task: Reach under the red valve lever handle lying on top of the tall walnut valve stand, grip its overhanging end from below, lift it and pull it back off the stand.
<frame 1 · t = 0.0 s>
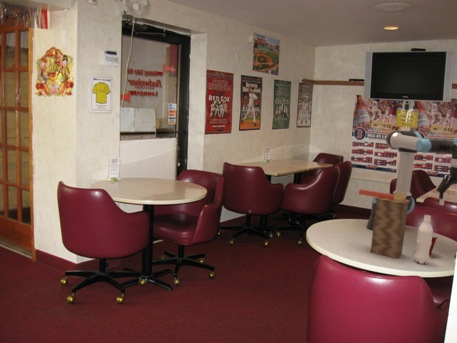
hand: (452, 205, 250), 28 cm above the table, tool pointing down, fingers open, 13 cm apart
plastic cup: (424, 255, 251), on the table
valve stand: (386, 253, 249), on the table
lever: (381, 197, 247), point 30 cm above the table, touching valve stand
water bottle: (421, 262, 237), on the table
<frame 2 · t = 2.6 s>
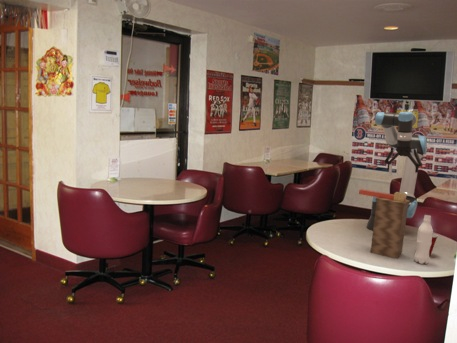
hand: (402, 176, 261), 40 cm above the table, tool pointing down, fingers open, 13 cm apart
nothing on the table moved.
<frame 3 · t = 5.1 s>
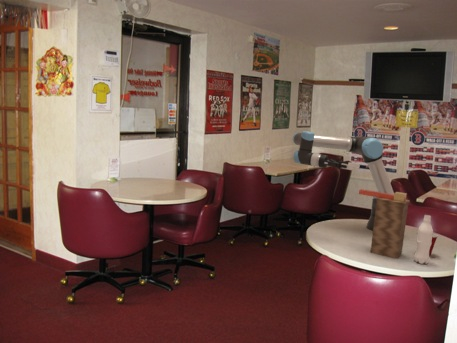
hand: (356, 167, 255), 44 cm above the table, tool horizontal, fingers open, 13 cm apart
nothing on the table moved.
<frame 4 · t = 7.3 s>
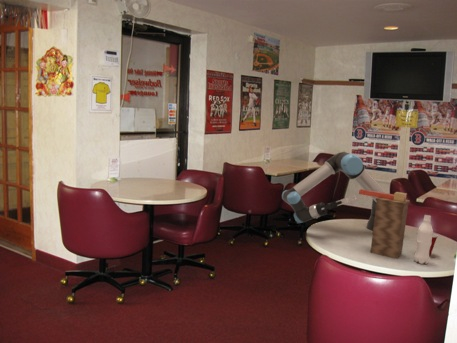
hand: (351, 198, 257), 27 cm above the table, tool pointing upward, fingers open, 13 cm apart
nothing on the table moved.
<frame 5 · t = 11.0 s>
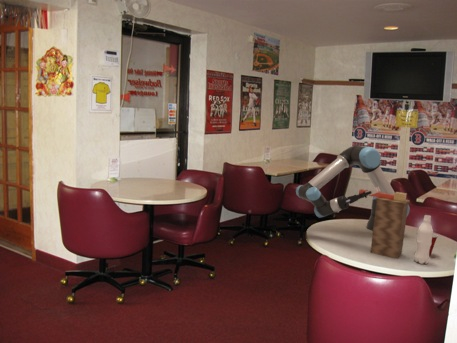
hand: (378, 189, 248), 34 cm above the table, tool pointing upward, fingers closed on lever, 3 cm apart
lever: (381, 197, 247), point 30 cm above the table, touching gripper, valve stand
everything else where it was.
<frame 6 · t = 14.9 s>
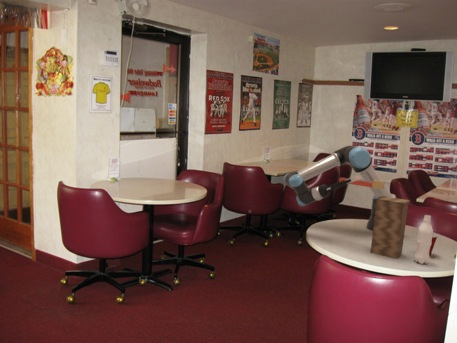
hand: (357, 177, 254), 39 cm above the table, tool pointing upward, fingers closed on lever, 3 cm apart
lever: (360, 185, 253), point 35 cm above the table, touching gripper
everything else where it was.
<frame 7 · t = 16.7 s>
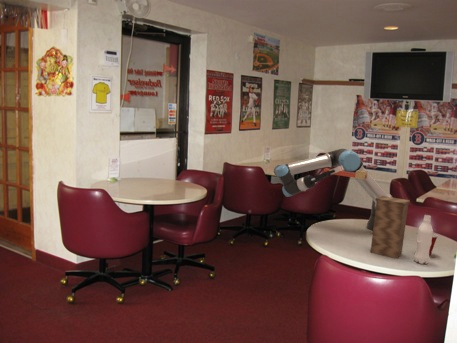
hand: (341, 168, 259), 43 cm above the table, tool pointing upward, fingers closed on lever, 3 cm apart
lever: (344, 175, 258), point 39 cm above the table, touching gripper
everything else where it was.
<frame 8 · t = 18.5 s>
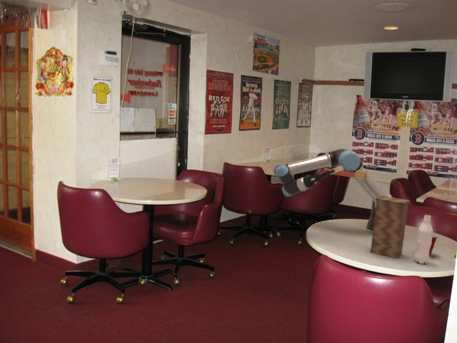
hand: (341, 168, 259), 43 cm above the table, tool pointing upward, fingers closed on lever, 3 cm apart
lever: (344, 175, 258), point 39 cm above the table, touching gripper
everything else where it was.
at the end: the gripper is holding lever; lever moved 23.5 cm from its start; lever touching gripper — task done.
